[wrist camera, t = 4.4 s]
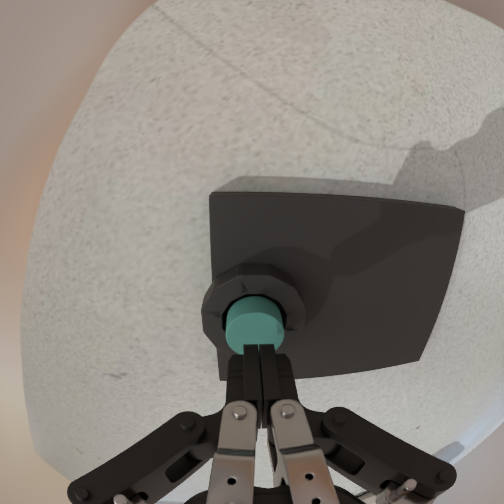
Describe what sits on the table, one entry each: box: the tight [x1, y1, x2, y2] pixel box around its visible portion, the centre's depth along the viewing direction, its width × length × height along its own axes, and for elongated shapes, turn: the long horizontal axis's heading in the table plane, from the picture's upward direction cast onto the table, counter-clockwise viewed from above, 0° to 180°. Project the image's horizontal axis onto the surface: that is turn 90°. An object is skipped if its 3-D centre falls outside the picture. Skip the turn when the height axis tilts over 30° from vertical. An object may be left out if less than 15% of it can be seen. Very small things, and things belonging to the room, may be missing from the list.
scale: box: [201, 192, 465, 381], centre depth 17 cm, size 19×14×3 cm
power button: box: [226, 296, 284, 354], centre depth 15 cm, size 3×3×2 cm
